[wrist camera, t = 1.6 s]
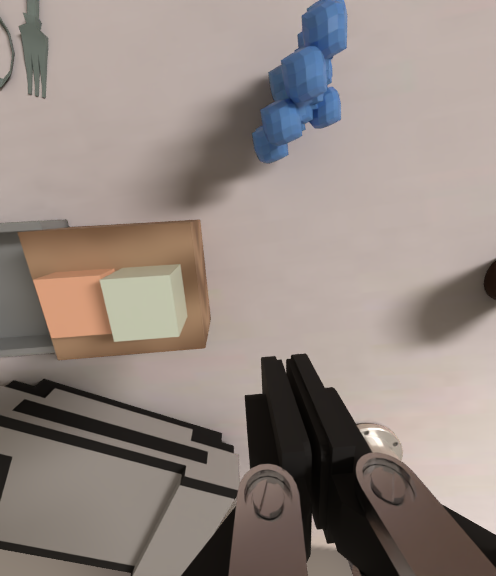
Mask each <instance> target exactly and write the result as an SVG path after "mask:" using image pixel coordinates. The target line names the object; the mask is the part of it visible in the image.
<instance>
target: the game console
mask: <svg viewBox="0 0 496 576" xmlns="http://www.w3.org/2000/svg"><path fill="white" fill-rule="evenodd" d="M221 438H222V433H219V432H216V431H213V430H210V429H206V428H203V427H200V426H197V425H193V424H190V423H187V422H183V421H180V420H177V419H174V418H170V417H167V416H164V415H161V414H157V413H154V412H151V411H147V410H144V409H141V408H138V407H134V406H131V405H128V404H124V403H121V402H118V401H115V400H111V399H108V398H105V397H102V396H98V395H95V394H92V393H88V392H85V391H82V390H79V389H75V388H72V387H69V386H66V385H62V384H59V383H56V382H52V381H49V380H46V379H43V380H42V381H41V382H40V383H39V384H38V385H37V386H36V387H34V386H31V385H28V384H24V383H21V382H17V381H14V380H13V381H12V382H11V383H9V384H8V385H7V386H6V387H5V386H1V385H0V549H3V550H8V551H14V552H20V553H25V554H30V555H36V556H41V557H47V558H52V559H58V560H63V561H69V562H75V563H80V564H85V565H91V566H96V567H102V568H107V569H112V570H118V571H124V572H129V573H131V576H181V575H182V574H183V572H184V571H185V570H186V569H187V567H188V566H189V565H190V563H191V562H192V561H193V560H194V558H195V557H196V556H197V555H198V553H199V552H200V551H201V550H202V548H203V547H204V546H205V545H206V543H207V542H208V541H209V539H210V538H211V537H212V536H213V534H214V533H215V531H216V530H217V528H218V526H219V525H220V523H221V521H222V520H223V518H224V516H225V515H226V513H227V511H228V510H229V508H230V506H231V505H232V503H233V502H234V500H235V498H236V497H237V493H238V488H239V484H240V475H239V455H238V454H234V446H233V445H229V444H226V443H222V442H221Z"/></svg>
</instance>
